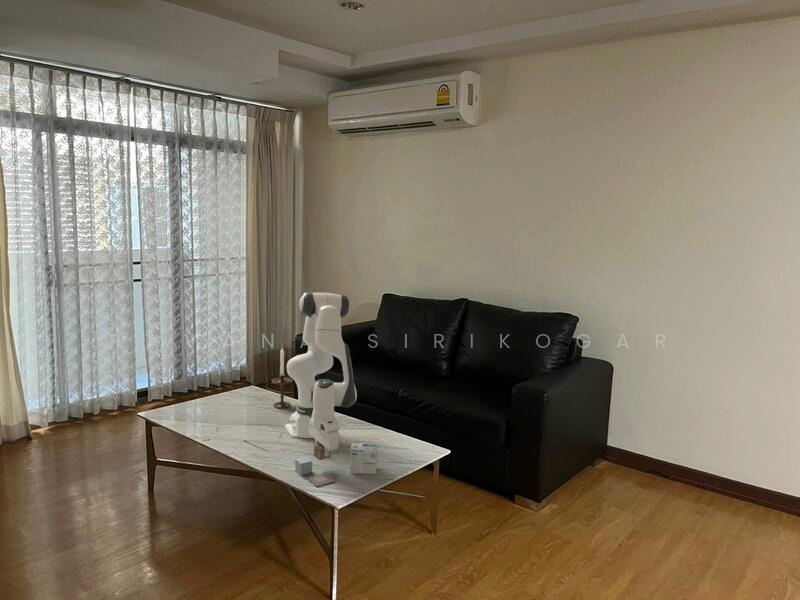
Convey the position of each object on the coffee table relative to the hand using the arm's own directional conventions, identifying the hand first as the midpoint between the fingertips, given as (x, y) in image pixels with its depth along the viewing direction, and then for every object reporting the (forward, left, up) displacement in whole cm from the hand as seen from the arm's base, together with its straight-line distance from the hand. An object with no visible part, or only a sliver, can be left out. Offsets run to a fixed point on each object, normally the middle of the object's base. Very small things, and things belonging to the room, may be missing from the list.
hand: (322, 452), depth 236 cm
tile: (+9, -5, -7) cm, 13 cm away
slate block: (-2, -7, -7) cm, 11 cm away
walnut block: (0, 0, -2) cm, 2 cm away
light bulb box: (+10, +14, -8) cm, 18 cm away
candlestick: (-81, +19, -7) cm, 84 cm away
